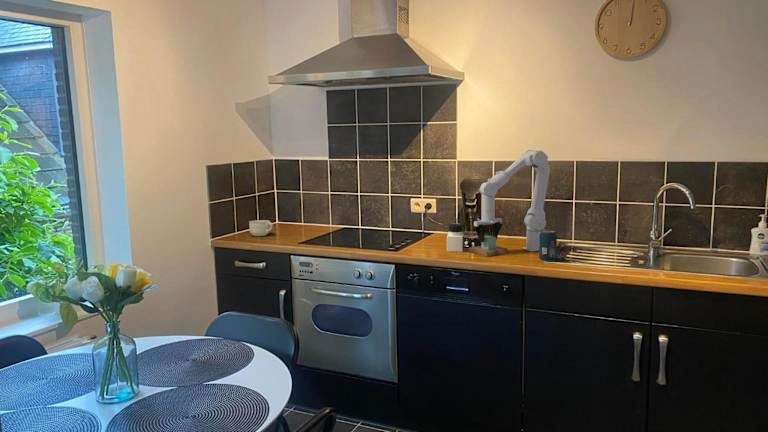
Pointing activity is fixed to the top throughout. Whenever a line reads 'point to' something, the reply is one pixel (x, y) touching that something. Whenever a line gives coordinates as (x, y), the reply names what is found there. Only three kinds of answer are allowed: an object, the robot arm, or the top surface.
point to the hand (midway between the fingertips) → (488, 240)
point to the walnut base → (487, 251)
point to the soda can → (547, 245)
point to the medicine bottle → (455, 238)
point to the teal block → (489, 243)
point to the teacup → (260, 227)
